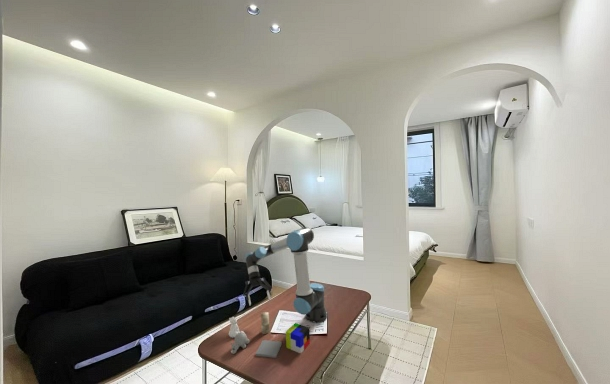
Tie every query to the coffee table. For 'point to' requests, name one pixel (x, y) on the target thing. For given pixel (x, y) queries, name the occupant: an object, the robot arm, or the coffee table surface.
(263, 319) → the birch tool handle
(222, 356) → the coffee table surface
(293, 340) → the puzzle toy
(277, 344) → the board
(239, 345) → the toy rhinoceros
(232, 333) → the sitting furry creature
